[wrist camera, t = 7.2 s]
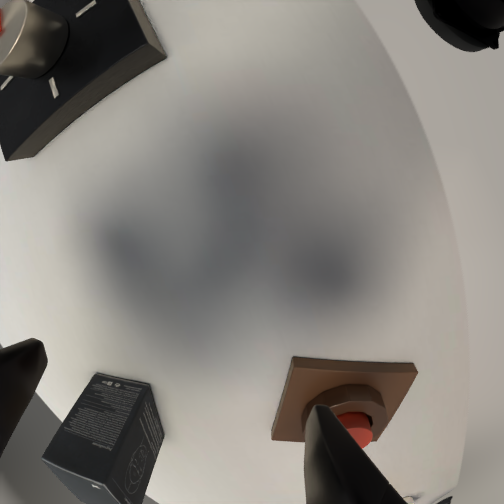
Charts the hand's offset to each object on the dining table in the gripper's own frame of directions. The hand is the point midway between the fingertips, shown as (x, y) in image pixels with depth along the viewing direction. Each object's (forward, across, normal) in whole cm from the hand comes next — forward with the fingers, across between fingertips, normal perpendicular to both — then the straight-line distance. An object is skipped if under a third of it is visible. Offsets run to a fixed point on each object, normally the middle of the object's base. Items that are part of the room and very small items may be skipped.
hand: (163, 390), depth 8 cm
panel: (+11, +13, -13) cm, 21 cm away
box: (+11, +7, +16) cm, 21 cm away
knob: (+8, +13, -13) cm, 20 cm away
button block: (+11, -11, +11) cm, 19 cm away
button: (+8, -11, +11) cm, 18 cm away
